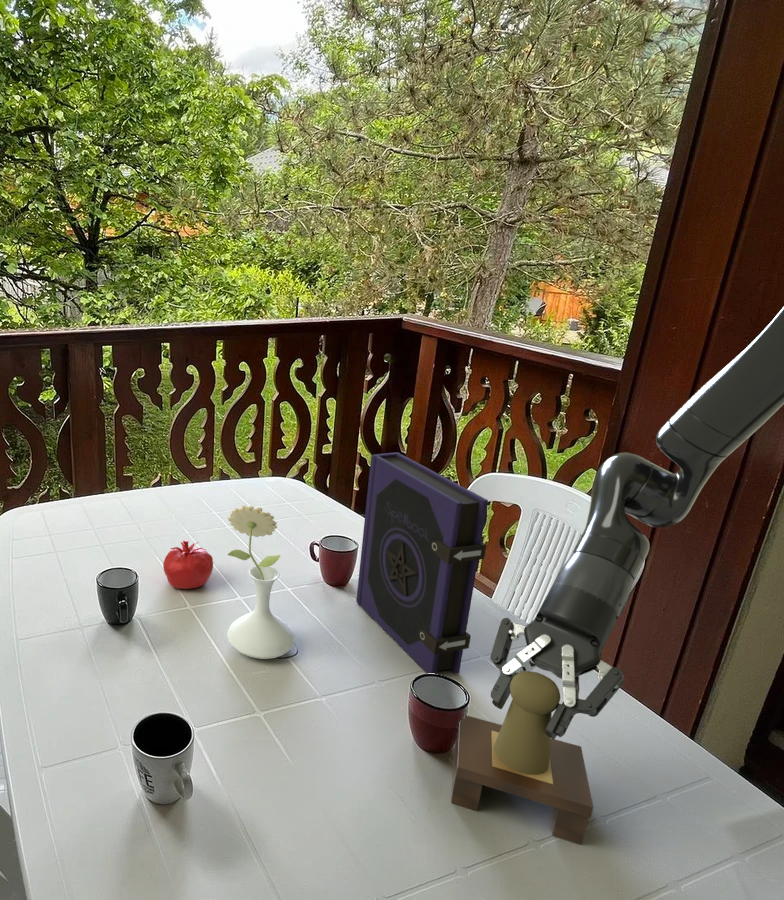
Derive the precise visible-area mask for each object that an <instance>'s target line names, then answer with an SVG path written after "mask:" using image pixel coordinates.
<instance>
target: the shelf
mask: <svg viewBox="0 0 784 900" xmlns="http://www.w3.org/2000/svg"><path fill="white" fill-rule="evenodd" d="M465 715H466V717H465V719H462V720H460V722H459V721H458V723H459V727H458V726H457V730H458V732H457V731H456V736H457V738H456V737H455V741H454V742H455V743H454V749H453V757H452V758H453V759H452V774H451V776H452V777H451V794H450V803H451V804H453V805H456V806H460V807H464V808H466V809H470V810H473V811H475V812H478V809H479V804H480V799H481V795H482V790H483V786H485V787H487V788H491V789H494V790H497V791H500V792H504V793H506V794H511V795H514V796H518V797H520V798H522V799H523V798H524V799H526V800H527V799H528V800H530V801H533V802H537V803H540V804H543V805H547V806H548V810H549V818H550V826H551V834H552V836H553V837H556V838H559V839H562V840H565V841H569V842H572V843H575V844H577V845H581V846H582V845H583V843H584V838H585V834H586V830H587V827H588V824H589V819H591V818H592V814H593V812H594V805H593V799H592V794H591V789H590V783H589V779H588V775H587V769H586V765H585V764H586V763H585V758H584V753H583V748H582V746H581V745H577V744H573V743H569V742H567V741H563V740H559V739H556V738H555V739H552V738H550V760H549V767H548V770H547V771H545V772H544V773H542V774H538V775H531V774H525V773H521V772H518V771H516V770H514V769H512V768H510V767H509V766H507V765H506V764H504V763H503V762H502V761H501V760H500V759H499V758H498V756H497V755H496V753H495V750H494V745H495V742H496V739H497V737H498V734H499V732H500V729H501V727H502V724H500V723H496V722H492V721H488V720H484V719H481V718H478V717H474V716H470V715H467V714H465Z"/></svg>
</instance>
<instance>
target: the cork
mask: <svg viewBox="0 0 784 900" xmlns="http://www.w3.org/2000/svg"><path fill="white" fill-rule="evenodd" d="M510 697H511V698H512V699H511V701H510V704H509V706H508V709H507V712H506V714H505V717H504V720H503V722H502V724H501V725H502V727H501V729H500V732H499V734H498V737H497V739H496V742H495V745H494V750H495V753H496V755H497V756H498V758H499V759H500V760H501V761H502V762H503V763H504V764H506V765H507V766H509V767H510V768H512V769H514V770H516V771H518V772H521V773H525V774H531V775H538V774H542V773H544V772H545V771H547V770H548V767H549V760H550V737H548V736H547V735H546V733H545V730H546V728H547V726H548V724H549V722H550V720H551V718H552V716H553V715H552V713H554V712H555V710H556V708H557V706H558V704H559V703H560V701H561V692H560V689H559V687H558V685H557V683H556V681H554V680H552V679H551V678H550V677H548V676H546V675H544V674H543V673H539V672H536V671H533V670H531V671H523V672H520V673H518V674H516V675H515V676H514V677H513V679H512V681H511V683H510Z"/></svg>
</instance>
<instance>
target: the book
mask: <svg viewBox="0 0 784 900" xmlns="http://www.w3.org/2000/svg"><path fill="white" fill-rule="evenodd" d="M367 483H368V485H367V495H366V503H365V512H364V522H363V523H364V524H363V533H362V534H363V535H362V541H361V543H362V544H361V552H360V560H359V561H360V562H359V571H358V580H357V591H356V598H355V599H356V600H355V602H356V603H357V604H358V605H359V606H360V607H361V609H362V610H363V611H364V612H365V613H366V614H367V615H368V616H369V617H371V619H372V620H373V621H375V622H376V624H377V625H378V626H379V627H381V628H382V630H384V632H385V633H386V634H387V635H388V636H389V637H390V638H391V639H392V640H393V641H394V642H395V643H396V644H397V645H398V646H399V647H400V648H401V649H402V650H403V651H404V652H405V653H406V654H407V655H408V656H409V657H410V658H411V659H412V660H413V662H415V663H416V664H417V665H418V667H420V668H421V669H422V670H423V671H424V672H425V673H426V674H427V673H436V674H437V672H439V671H443V670H449V669H450V670H451V671H452V672H453V673H455V675H457V674H460V672H461V671H460V670H461V664H462V659H463V652H464V650H467V649H469V648H470V643H471V637H472V635H471V634H470V633H468V632H467V629H468V623H469V618H470V617H469V616H470V611H471V604H472V599H473V592H474V586H475V581H476V575H477V569H478V563H479V560H484V559H485V556H486V549H487V544H486V543H485V542H483V541H482V539H483V533H484V527H485V521H486V515H487V510H488V504H489V500H488V499H486V498H484V497H483V496H481V495H479V494H477V493H475V492H474V491H472V490H469V489H468V488H466V487H464V486H463V485H460V484H458V483H457V482H455V481H453V480H451V479H449V478H447V477H446V476H444V475H442V474H440V473H438V472H436V471H434V470H432V469H431V468H428V467H427V466H425V465H423V464H420V462H419V463H418V462H417V461H415V460H413V459H412V458H409V457H408V456H405V455H404V454H401V453H400V452H388V453H386V452H385V453H375V454H371V456H370V465H369V475H368V482H367Z"/></svg>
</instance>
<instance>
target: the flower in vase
mask: <svg viewBox="0 0 784 900" xmlns="http://www.w3.org/2000/svg"><path fill="white" fill-rule="evenodd" d="M274 519H275V516H274V515H271V513H270V512H269V511H268V512H267V511H266V512H264V511H263V508H262V507H260V506H259V507H257V508H255V507H254V506H251V505H250V506H248V507H247V505H242V506H241V507H240V508H238V507H235V508H234V510H231V513H230V514H229V516H228V517H227V521H229V522H230V523H229V524H230V526H232V528H233V530H235V531H238V532H239V533H240V534H245V535H246V536H248V537H249V540H248V552H245V551H244V550H242V549H233V550H231V551H230V552H228V553H227V556H230V557H234V558H237V559H238V560H241V561H247V560H249V559H250V558H251V560H252V562H253V564H254V565H255V566H254V567H252V568H250V569H249V570H248V575H249V577H250V578H251V580H252V581H253V584H254V589H255V606H254V609H253V610H252V611H251V612H248V613H246V614H243V615H242V616H240V617H238V618H237V619H236V620H234V621H233V622H232V623H231V625H230V626H229V628H228V630H227V633H226V634H227V636H226V637H227V640H228V642H229V643H230V645H231V647H233V649H234V650H236V651H237V652H238V653H240V654H242V655H244V656H247V657H250V658H254V659H261V660H269V659H275V658H279V657H282V656H284V655H286V654H288V652H289V651H290V650H291V649H292V648H293V647H294V644H295V641H296V639H295V634H294V632H293V629H292V628H291V627H290V625H289V624H288V623H287V622H285V621H284V620H283V619H281V618H280V617H278V616H277V615H275V614H274V613H273V612H272V611H271V609H270V598H271V592H272V588H273V585H274V583H275V582H276V580H277V579H279V577H280V572H279V571H278V569H276V568H274V567H272V565H275V564H276V562H278V561H279V559H280V558H281V556H282V554H276V555H267V556H265V557H264V558H263V559H261V561H259V563H258V562H257V561H256V560H255V558H254V556H253V554H252V550H251V549H252V537H255V538H259V537H263V538H264V537H265V536H271V535H273V532H275V529H277V528H278V526H277V524H278V523H277V522H276V521H275V520H274Z"/></svg>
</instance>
